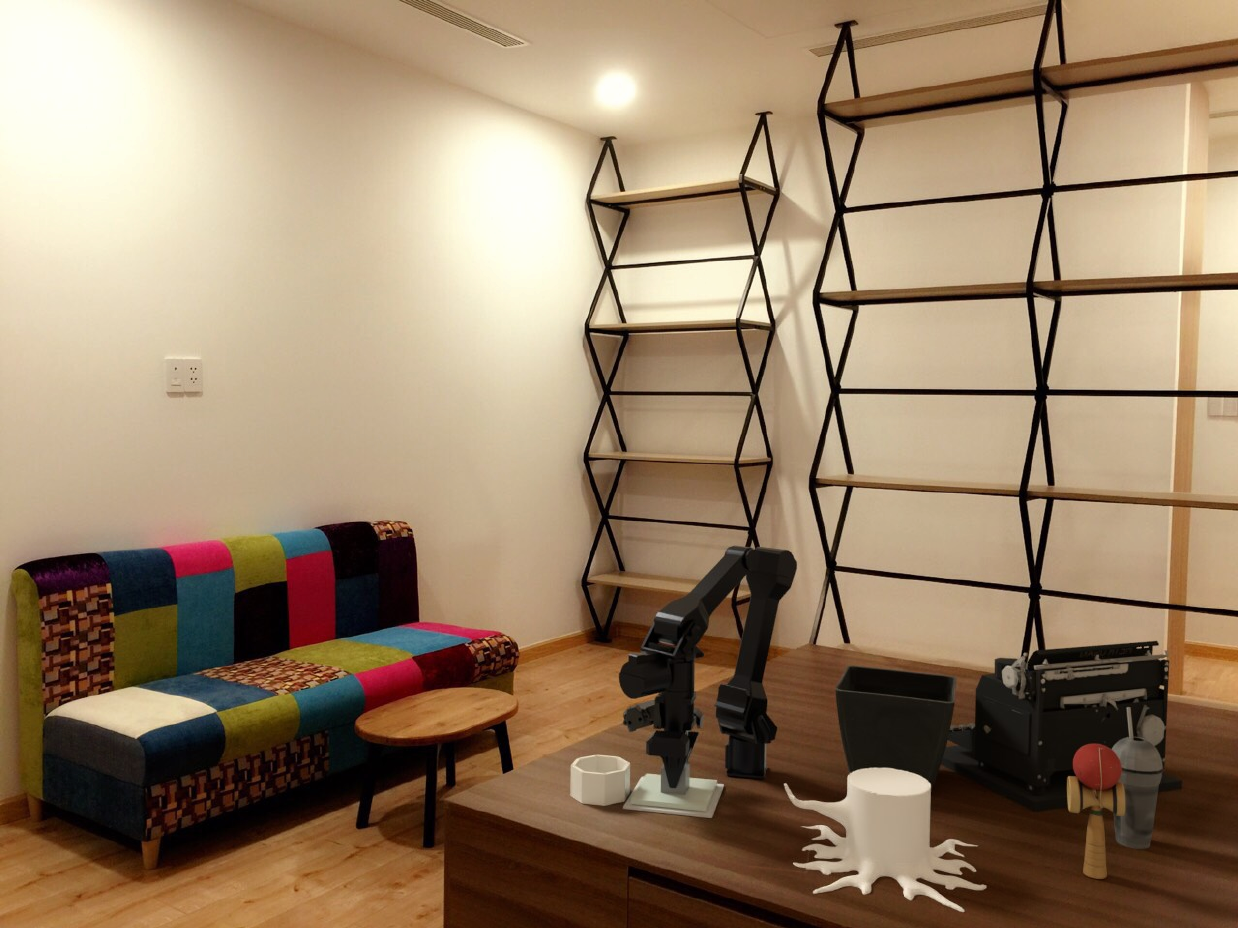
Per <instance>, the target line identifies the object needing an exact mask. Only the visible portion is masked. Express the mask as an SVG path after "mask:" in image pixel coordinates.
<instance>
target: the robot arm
mask: <svg viewBox="0 0 1238 928" xmlns="http://www.w3.org/2000/svg"><path fill="white" fill-rule="evenodd" d="M797 569H798V561H797V560H796V559H795V556H794V554H793V552H792V551H790V550H788V549H779V548H772V547H765V546H757V547H756V548H753V547H749V546H741V545H731V546H729V547H728V548H727V549H726V550H725V551H724V555H723V557H721V559H720V560H718V561H717V563H716V564H715V565H713V567H712V568H711V569H710V570H709V571H708V573H707V574H706V575H704V577H703V578H702V579H701V580H700V581H699V582H698V583H697V584H696V585H695V586H694V587H693V589H692V590H691V591H689V592H688V593H687V594H686V595H684V596H683V597H680V598H678V599H674V600H673V601H670V602H669V603H668V604H666V605H665V606H664V607H663V608H661V609H660V610H659V611H658V612H657V613H656V615H655V616H654V619H653V622H652V624H651V626H650V628H649V630H648V633H647V634H646V637H644V640H643V642H642V644H641V646H640V649H639V650H640V652H632V653H628V660H627V661H626V662H625V663H624V664H623V665H622V666H621V668H620V672H619V673H618V683H619V687H620V689H621V691H622V692H623V694H624V695H625V696H626V697H627V698H629V699H631V700H633V699H634V700H635V699H639V698H644V697H648V696H652V695H655V694H656V696H655V697H654V699H651V700H647V701H644V702H640V703H636V704H632V705H630V706H628V707H626V709H625V710H623V713H622V717H623V721H622V724H623V725H624V726H626V727H627V730H628V732H629V733H633V732H636V731H637V730H639V729H643V728H645V727H646V728H647V727H650V726H652V725H653V727H652V728H653V729H655V731H654V732H653V733H652V734H651V735H649V737H648V739H647V740H646V742H645V747H646V748H645V754H646V755H647V756H654V757H655V756H656V757H660V758H661V760H662V763H663V764H664V768H665V772H666V776H667V780H668V784H669V787H670V788H676V787H677V785H678V782H679V779H680V777H681V774H682V772H683V769H684V766H685V764H686V762H689V759H690V757H691V755H692V752H693V750H694V748H695V745H696V742H697V740H698V738H699V735H700V732H698V731H692V730H693V728H694V727H695V725H696V728H697V729H702V728H703V725H704V713H703V712H702V711H701V709H700V708H699V707H695V701H696V699H697V691H696V690H695V678H696V677H695V673H696V672H695V670H696V669H695V668H696V667H695V666H696V659H701V658H704V657H705V653H704V652H703V650H701V649H700V648H699V647H698V646H697V645H698V644H699V643H700V641H701V640H702V638H703V636H704V635H705V633H706V632H707V631H708V628H709V625H710V617H711V616H712V614H713V612H715V610H717V608H718V607H719V606H720V605H721V603H723V601H725V599H726V598H727V597H728V596H729V595H730V594H731V593H732V592H733V590H734V589H735V588H736V587H737V586H738V585H739V584H740V582H741V581H743V579H745V580H746V583H747V586H748V589H749V592H750V599H749V603H748V608H747V611H746V618H745V622H744V628H743V632H742V635H741V636H742V637H741V642H740V646H739V650H738V653H737V654H738V655H737V659H736V665H735V669H734V674H733V676H732V678H730V680H729V681H728V682H727V683H726V684H725V683H721V684H719V686H718V688H717V689H718V691H717V698H716V701H715V703H714V707H715V718H716V719H717V723H718V726H719V731H720V733H721V734H722V735H727V736H728V741H727V742H726V743H725V746H724V752H725V753H724V768H725V769H727V770H726V774H725V775H726V776H729V777H730V776H731V777H741V778H749V779H760V780H761V779H762V780H763V779H765V778H766V774H767V771H768V763H767V744H768V745H769V744H771V742H772V741H774V740H775V739H776V736H777V731H778V727H777V725H776V724H775V723H774V721H773V720H772V719H771V718H770V716H769V715H768V714H767V711H768V697H767V694H766V689H765V687H764V684H763V683H764V681H763V680H764V675H765V671H766V666H767V661H768V655H769V652H770V651H769V650H770V646H771V641H772V637H773V633H774V632H773V631H774V627H775V623H776V618H777V614H778V613H777V612H778V608H779V603H780V601H781V600H782V599H783V597H784V596H785V595H786V594H788V592H789V590H790V589H791V588H792V585H793V583H794V579H795V576H796V573H797ZM661 643H662V644H661ZM664 644H665V645H664ZM669 645H670V646H669ZM661 729H662V730H661ZM663 764H662V765H663Z"/></svg>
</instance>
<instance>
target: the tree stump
mask: <svg viewBox="0 0 1238 928" xmlns="http://www.w3.org/2000/svg"><path fill="white" fill-rule="evenodd" d="M846 781H847V783H846V786H847V789H846V791H847V792H846V797H845V798H843V799H842V800H839V801H835V802H827V801H826V802H824V801H818V800H814V799H813V800H801V799H798V798H796V796H795V795H794V794H793V792H792V790H791V789H790V787H789V785H788V784H787V783H786V782H785V783H783V786H784V790H785V792H786V794H787V796H788V798H789V800H790V802H792V804H793V805H794V806H795V807H797V808H800V809H804V810H811V811H815V812H817V813H819V814H821V815H823V816H826V817H827V818H830V819H832V820H834V821H836V822H838V824H841V825H842V826H843V827H844V829H845V832H846V833H845V834H846V836H845V837H842V836H840V835H839V834H837V833H835V832H834V831H833V830H832V828H831V827H829V826H827V825H822V824H819V825H817V824H816V825H812V826H800V827H801V828H806V829H810V830H819V831H820V835H819V836H816V837H814V838H811V840H812V841H819V840H820V841H821V840H823V841H824V840H826V839H827V840H829V841H830V842H831V843H832V844H833V845H835V846H828V845H825V844H820V843H813V844H809V845H806V846H804V847H802V849H801V851H803V852H805V851H807V850H808V851H815V852H816V854H815V855H814V856H813V857H814V858H815V859H825V860H816V861H810V862H806V863H798V862H793V863H792V864H793V865H794V866H795V867H798V868H800V869H802V868H803V869H805V870H807V871H808V870H809V871H810V870H812V871H820V872H821V873H822V875H826V876H829V875H831V874H832V873H844V872H845V873H848V872H851V871H857V872H858V874H855V875H853V874H852V875H848V876H844V877H843V876H842V877H841V878H839V879H837V880H836V881H834V882H832V883H831V884H829V885H824V886H821V887H819V888H816V889H814V890H813V891H812V894H814V895H815V894H822V893H827V892H833V891H835V890H839V889H840V888H841V889H842V888H845V887H855V888H858V889H860V891H861V893H862V895H868V894H870V893H871V892H872V885H873V883H874V882H875V881H877V879H878V878H880V877H890V878H892V879H894V880H895V881H897V883H898V884H899V885H900V887H901V888H902V889H903V891H902V893H903V895H904V896H903V897H904V898H906V899H907V900H908V901H913V899H914V898H915V896H920V895H922V896H926V897H929V898H931V899H933V900H935V901H937V902H939V903H941V904H942V905H944V906H946V907H949V908H952V909H953V910H956V911H958V912H962V913H964V912H965V909H964V908H963V907H962V906H960V905H958V904H957V903H954V902H952V901H950V900H949V899H947V898H946V897H944V896H943V895H942V894H940V892H938V891H937V890H936V889H934V888H932V887H931V886H929V885H927V884H924V883H921V882H919V881H917V880H918V879H922V880H925V881H927V882H931V883H933V884H937V885H941V886H945V887H944V888H945V889H947V890H954V889H955V888H963V889H964V888H965V889H969V890H974V891H984V890H985V889H987V885H985V884H976V883H973V882H971V881H968V880H966V879H963V878H961V877H958V876H955V875H960V876H962V875H963V872H962V871H961V870H960V869H961V868H967V869H969V870H970V871H971V872H973V873H975V872H977V870H976V868H975V867H974V866H973V865H972V864H970V863H968V862H967V861H965V860H962V859H943V858H941V857H943V856H944V854H946V853H950V854H953V855H955V856H959V857H963V858H965V855H964V854H962V853H960V852H958V851H956V849H955V848H956V845H959V846H963V847H978V846H979V845H978V844H977V845H975V844H970V843H965V842H963V841H961V840H958V839H953V838H949V839H946V840H944V841H943V843H941V844H939V845H937V846H934V847H932V846H930V839H931V838H930V837H931V835H930V834H931V832H930V831H931V803H932V802H931V799H932V797H931V792H932V791H931V784H930V783H929V782H928V780H926V779H925V778H923V777H921V776H920V775H918V774H915V773H911V772H908V771H903V770H897V769H893V768H876V767H875V768H865V769H860V770H856V771H853V772H852V773H849V774H848V775H847V779H846ZM826 859H828V860H829V859H839V861H826ZM935 870H937V871H941V872H945V873H949V874H954V875H947V874H945V875H944V874H940V873H937V872H935Z"/></svg>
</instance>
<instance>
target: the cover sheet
mask: <svg viewBox="0 0 1238 928" xmlns="http://www.w3.org/2000/svg"><path fill="white" fill-rule="evenodd" d="M690 763H691V762H690V761H688V762H686V764H685V766H684V769H683V772H682V774H681V777H680V779H679V782H678V785H677V787H676V788H670V787H669V784H668V780H667V776H666V772H665V768H664V764H662V765H661V767H660V774H655V773H645V775H644V776H643V777H644V778H643V780H642V782H641V783H640V785H639V786H638V788H637V790H636V791H635V793H634V795H633V796H632V798H631V804H636V805H646V806H656V807H665V808H675V809H685V810H695V811H705V812H706V811H707V809H708V806H709V804H710V801H711V799H712V796H713V794H714V791H715V789H716V786H717V784H718V780H717V779H709V778H708V779H706V778H698V777H696V778H695V777H691V776H690V771H691V769H690Z"/></svg>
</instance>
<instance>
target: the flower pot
mask: <svg viewBox="0 0 1238 928" xmlns="http://www.w3.org/2000/svg"><path fill="white" fill-rule="evenodd" d="M956 685H957V678H956V677H955V676H952V675H943V674H935V673H934V674H933V673H926V672H917V671H907V670H899V669H898V670H897V669H889V668H881V667H880V668H879V667H868V666H859V665H847V666H846V668H845V670H844V672H843V674H842V676H841V678H840V679H839V681H838V683H837V685H836V686H835V701H836V710H837V711H836V712H837V720H838V725H839V727H838V728H839V731H840V737H841V743H842V746H843V747H842V749H843V753H844V756H845V760H846V765H847V768H848V771H849V774H850V773H852V772H853V771H856V770H860V769H865V768H875V767H876V768H893V769H897V770H903V771H908V772H911V773H915V774H918V775H920V776H921V777H923V778H925V779H926V780H928V782H929V783H930V784H931V792H932V791H933V788H934V785H935V782H936V780H937V777H938V774H939V771H940V768H941V766H942V765H941V763H942V759H943V756H944V752H945V748H946V747H947V744H948V736H949V731H950V730H951V728H950V727H951V725H952V720H953V717H954V715H953V714H954V709H955V701H956V699H955V698H956V696H955V695H956Z"/></svg>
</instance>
